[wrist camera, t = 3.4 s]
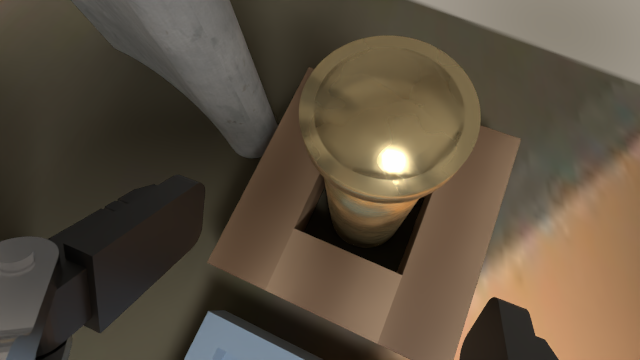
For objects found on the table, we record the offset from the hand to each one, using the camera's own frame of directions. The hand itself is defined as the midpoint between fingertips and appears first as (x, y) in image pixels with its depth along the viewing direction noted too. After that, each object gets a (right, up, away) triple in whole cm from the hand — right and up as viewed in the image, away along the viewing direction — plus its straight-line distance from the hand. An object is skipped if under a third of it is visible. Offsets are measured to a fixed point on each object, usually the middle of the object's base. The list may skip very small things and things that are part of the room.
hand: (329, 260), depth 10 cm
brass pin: (+2, 0, +11) cm, 12 cm away
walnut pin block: (+2, 0, +11) cm, 12 cm away
